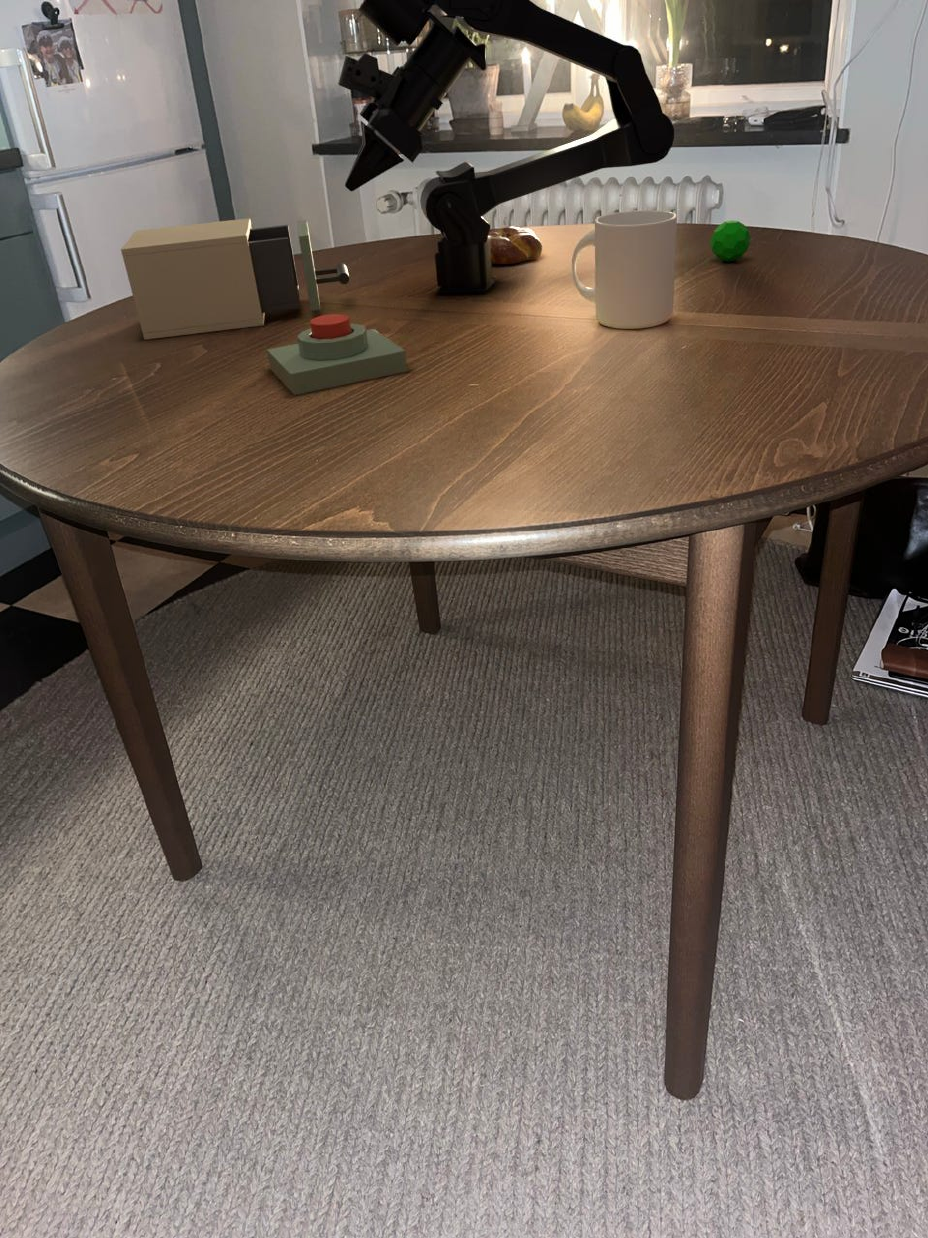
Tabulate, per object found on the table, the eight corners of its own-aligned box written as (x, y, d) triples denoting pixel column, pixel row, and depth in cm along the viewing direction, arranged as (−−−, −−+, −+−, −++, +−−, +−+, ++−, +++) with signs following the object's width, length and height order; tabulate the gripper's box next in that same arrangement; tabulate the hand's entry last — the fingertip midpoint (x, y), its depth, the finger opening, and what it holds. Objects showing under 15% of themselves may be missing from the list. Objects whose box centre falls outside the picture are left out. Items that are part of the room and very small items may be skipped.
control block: (376, 348, 104) (371, 311, 102) (407, 371, 96) (403, 332, 94) (270, 369, 100) (263, 332, 98) (294, 395, 92) (286, 355, 90)
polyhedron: (748, 255, 127) (751, 217, 125) (747, 263, 123) (750, 224, 121) (711, 256, 129) (713, 218, 126) (708, 264, 125) (710, 226, 122)
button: (345, 328, 98) (342, 311, 98) (356, 337, 95) (354, 319, 94) (308, 335, 97) (305, 318, 96) (318, 344, 94) (316, 326, 93)
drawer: (348, 285, 127) (339, 216, 122) (353, 305, 118) (343, 230, 113) (217, 301, 126) (202, 231, 121) (211, 323, 116) (194, 247, 111)
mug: (591, 304, 112) (590, 208, 107) (685, 312, 106) (690, 210, 100) (555, 323, 107) (552, 222, 101) (652, 333, 100) (655, 226, 95)
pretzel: (470, 251, 144) (468, 226, 142) (541, 246, 143) (541, 220, 141) (466, 269, 134) (464, 241, 132) (542, 263, 133) (541, 236, 131)
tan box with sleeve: (265, 301, 127) (250, 217, 121) (263, 325, 116) (246, 234, 111) (156, 314, 126) (135, 230, 120) (144, 339, 115) (120, 249, 109)
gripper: (366, 25, 115) (292, 135, 120) (379, 22, 99) (294, 149, 104) (436, 92, 120) (362, 195, 125) (459, 99, 104) (373, 217, 109)
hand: (347, 188), depth 116 cm, fingers closed
